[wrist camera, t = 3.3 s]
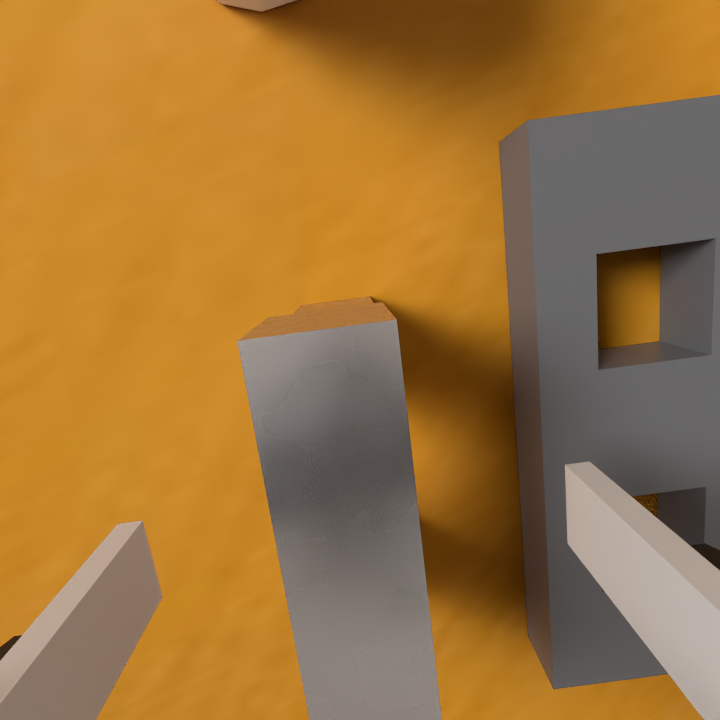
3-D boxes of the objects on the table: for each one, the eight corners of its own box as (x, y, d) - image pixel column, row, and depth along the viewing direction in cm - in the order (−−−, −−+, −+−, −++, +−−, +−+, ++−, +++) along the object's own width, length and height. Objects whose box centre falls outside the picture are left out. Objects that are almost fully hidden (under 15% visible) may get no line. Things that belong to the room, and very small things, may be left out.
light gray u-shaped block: (343, 575, 23) (340, 881, 12) (299, 293, 20) (237, 340, 9) (403, 567, 23) (458, 866, 12) (368, 284, 20) (396, 319, 9)
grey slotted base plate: (528, 636, 24) (553, 689, 21) (499, 141, 19) (527, 120, 16) (699, 613, 24) (749, 663, 21) (718, 112, 19) (787, 86, 16)
